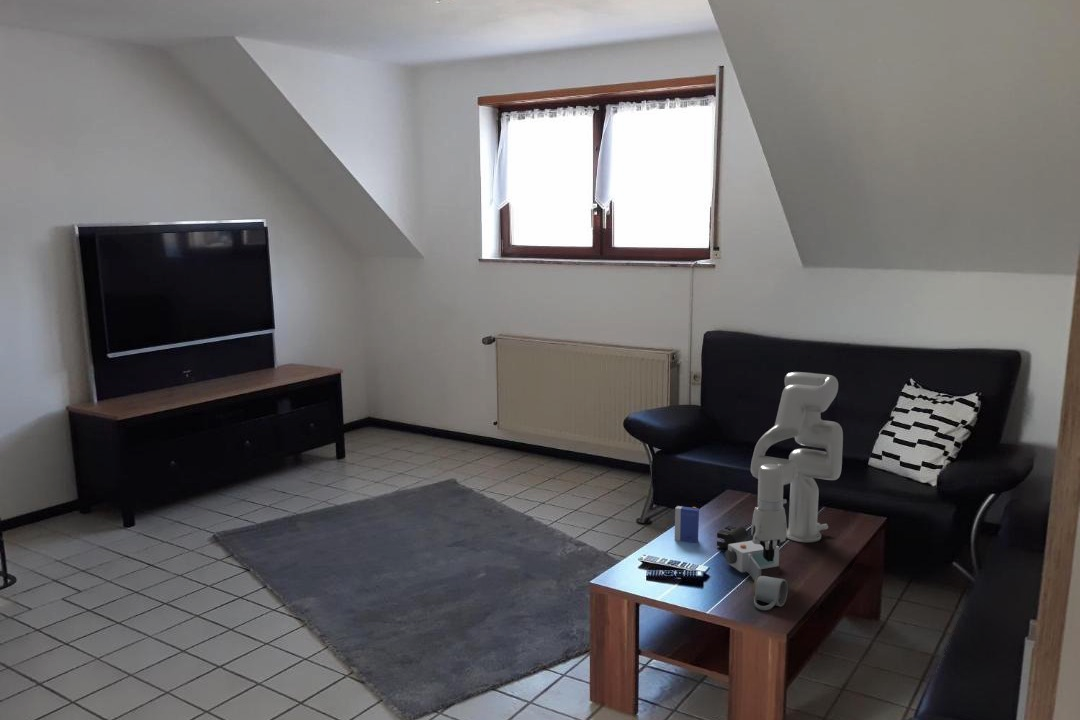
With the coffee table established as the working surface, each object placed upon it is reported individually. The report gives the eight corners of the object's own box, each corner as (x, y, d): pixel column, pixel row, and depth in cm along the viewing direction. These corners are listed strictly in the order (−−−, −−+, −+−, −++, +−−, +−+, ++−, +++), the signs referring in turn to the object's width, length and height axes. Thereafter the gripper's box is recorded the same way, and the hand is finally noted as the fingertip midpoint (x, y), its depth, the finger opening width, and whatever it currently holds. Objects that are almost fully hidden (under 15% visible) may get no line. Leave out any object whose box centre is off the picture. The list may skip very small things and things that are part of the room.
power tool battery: (735, 555, 286) (736, 535, 285) (715, 550, 290) (716, 531, 289) (747, 546, 294) (748, 527, 293) (728, 541, 298) (729, 522, 297)
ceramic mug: (761, 594, 256) (761, 569, 254) (787, 600, 251) (788, 576, 249) (747, 607, 247) (747, 582, 246) (774, 614, 242) (775, 589, 241)
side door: (761, 587, 260) (762, 568, 259) (757, 587, 260) (758, 568, 259) (750, 571, 271) (751, 553, 270) (746, 572, 271) (747, 553, 270)
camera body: (763, 557, 284) (764, 536, 282) (778, 566, 276) (779, 545, 275) (723, 564, 278) (723, 543, 277) (737, 573, 271) (738, 552, 269)
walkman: (698, 540, 299) (699, 507, 297) (696, 543, 296) (697, 509, 294) (676, 537, 302) (676, 504, 300) (674, 540, 299) (674, 507, 297)
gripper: (786, 498, 270) (785, 552, 274) (742, 502, 268) (741, 557, 271) (798, 506, 263) (796, 562, 266) (752, 510, 260) (751, 567, 264)
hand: (768, 559), depth 269 cm, fingers closed
